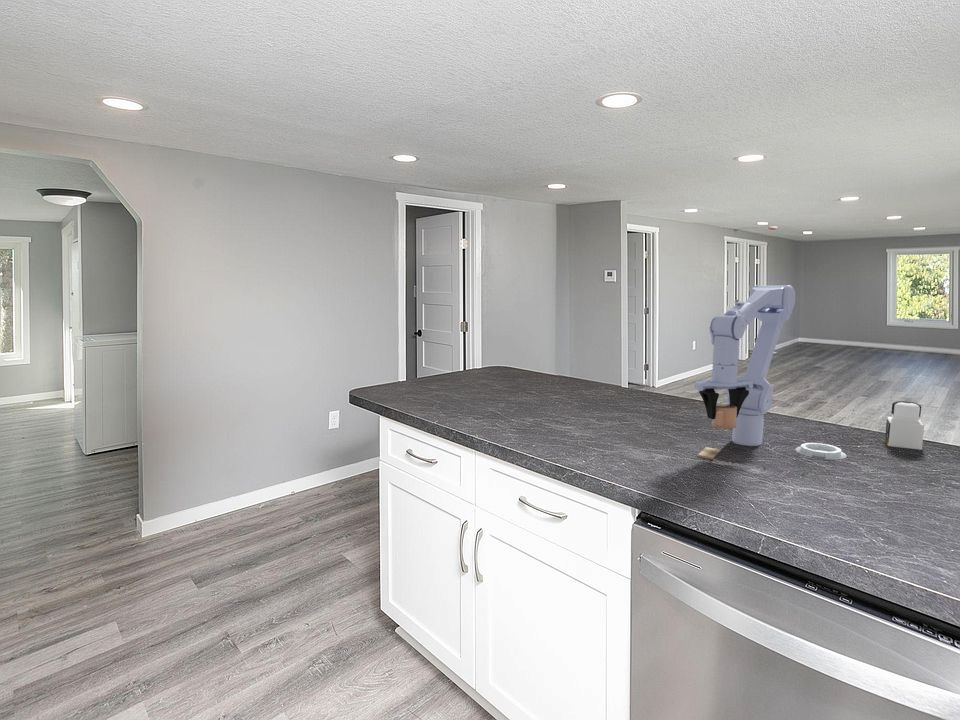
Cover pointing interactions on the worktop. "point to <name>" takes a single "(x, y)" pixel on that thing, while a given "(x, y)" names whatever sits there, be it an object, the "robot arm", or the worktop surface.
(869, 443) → the worktop surface
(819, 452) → the plate
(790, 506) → the worktop surface
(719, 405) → the mug
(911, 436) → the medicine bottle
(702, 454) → the mat
